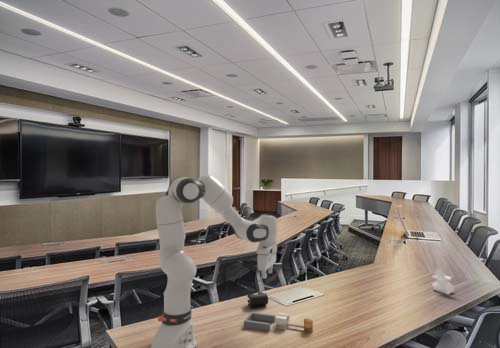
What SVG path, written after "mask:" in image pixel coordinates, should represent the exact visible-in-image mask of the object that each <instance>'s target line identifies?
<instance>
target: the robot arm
mask: <svg viewBox="0 0 500 348" xmlns="http://www.w3.org/2000/svg"><path fill="white" fill-rule="evenodd" d="M200 199H202V200H203V201H204V202H205V203H206V204H207V205H208V206H209V207H211V208H212V209H213V210H214V211H215V212H217V213H218V214H219V215H221V216H222V217H223V219H225V220H226V221H227V222H228V224H229V225H230V226H231V228H232V230H233V233H234V235H235V236H236V237H237V239H240V240H244V241H247V242H249V243H258V247H257V249H256V254H257V259H256V260H257V270H258V271H261V272H260V273H261V275H262V277H261V278H262V279H267V278H268V275H267V273H268V274H273V268H274V264H276V261H277V252H278V239H277V235H278V222H277V221H278V220H277V218H276V216H274V215H271V214H266V213H263V214H261V215H260V216H259V217H258V218H256V219H254V220H249V219H246V218H243V217H241V216H240V214H238V212H237V211H236V210H235V209H234V208H233V204H234V196H233V195H232V193H231V192H230V191H229V190H228V188H227V187H226V186H224V184H222V183H221V182H220V181H219V180H218V179H216V178H215V177H214V176H212V175H211V174H208V173H207V174H206V173H205V174H203V175H201V176H199V177H198V179H196V178H191V177H188V176H180V177H179V176H178V177H175V178H174V179H172V180H171V182H170V184H169V185H168V188H167V191H166V194H165V195H164V196H161V197H160V198H158V199H157V201H156V203H155V220H156V227H157V233H158V234H157V235H158V239H159V241H158V242H159V260H158V262H159V265H160V266H159V267H160V268H161V270H162V271H163V273H164V274H166V276H167V283H166V288H165V291H164V293H163V311H162V314H161V315H160V316H158V318H157V321H158V322H160V325H159V326H158V328H157V330H156V331H155V333H154V335H153V336H152V337H153V338H152V339H151V346H150V347H149V348H197V347H198V341H196V336H195V326H194V324H193V321H192V315H193V314H192V308H191V289H192V285H193V279H194V278H195V277H196V274H197V265H196V263H195V261H194V260H193V258H191V257H190V256H188V255H187V254H186V252H185V239H186V236H187V235H186V229H185V224H184V223H185V222H184V217H183V206H184V205H185V204H192V203H195V202H197V201H199V200H200Z"/></svg>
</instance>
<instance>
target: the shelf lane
mask: <svg viewBox="0 0 500 348" xmlns="http://www.w3.org/2000/svg"><path fill="white" fill-rule="evenodd" d="M275 317H276V314H271V313H270V314H269V313H262V312H255V311H251V312H250V313H249V314H248V315H247V317H246V318H245V319H244V321H243V327H244V328H245V329H246V328H247V329H253V330H260V331H266V332H271V323H276V320H275Z"/></svg>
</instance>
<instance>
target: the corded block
mask: <svg viewBox="0 0 500 348" xmlns="http://www.w3.org/2000/svg"><path fill="white" fill-rule="evenodd" d="M289 326H290V327H296V328H302V329H303V332H304V333H306V334H311V333H313V332H314V330H313V329H314V328H313V327H314V320H313V319H312V318H309V317H308V318H304V319H303V325H301V324H297V323H291V322H290V313H284V312H278V314H277V315H275V329H280V330H283V331H286V330H288V327H289Z"/></svg>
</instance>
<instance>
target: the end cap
mask: <svg viewBox="0 0 500 348" xmlns="http://www.w3.org/2000/svg"><path fill="white" fill-rule="evenodd" d="M246 297H247V298H248V299H247V303H248V304H247V306H248V307H249V308H250V309H253V308H259V307H265V306H267V305H268V304H269V297H268V294H267V293H266V292H262V291H260V292H257V293H256V294H254V293H253V292H252V293H248V294H247V296H246Z"/></svg>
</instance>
